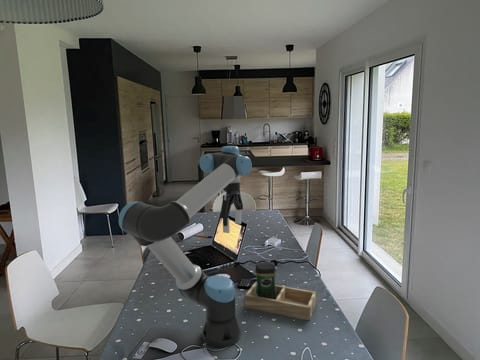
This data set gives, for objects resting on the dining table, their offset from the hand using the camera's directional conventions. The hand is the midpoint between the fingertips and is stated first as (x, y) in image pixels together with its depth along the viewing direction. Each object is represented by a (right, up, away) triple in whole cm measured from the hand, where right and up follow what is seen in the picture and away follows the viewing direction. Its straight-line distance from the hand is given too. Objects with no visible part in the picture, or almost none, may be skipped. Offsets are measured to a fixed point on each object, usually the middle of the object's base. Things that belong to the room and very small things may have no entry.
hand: (232, 227), depth 161 cm
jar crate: (+22, -36, +3) cm, 43 cm away
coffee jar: (+15, -35, +6) cm, 39 cm away
